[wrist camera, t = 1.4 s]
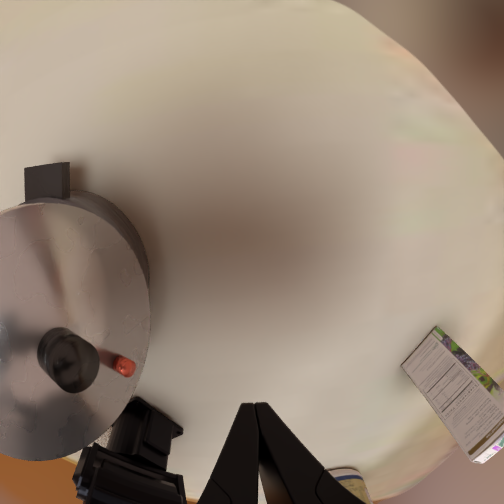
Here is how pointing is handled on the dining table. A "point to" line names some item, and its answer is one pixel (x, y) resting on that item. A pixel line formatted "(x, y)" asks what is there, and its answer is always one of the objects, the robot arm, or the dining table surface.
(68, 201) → the cooker pot
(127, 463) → the robot arm
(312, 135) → the dining table surface
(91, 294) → the cooker lid
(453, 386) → the syrup box
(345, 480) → the supplement tub
